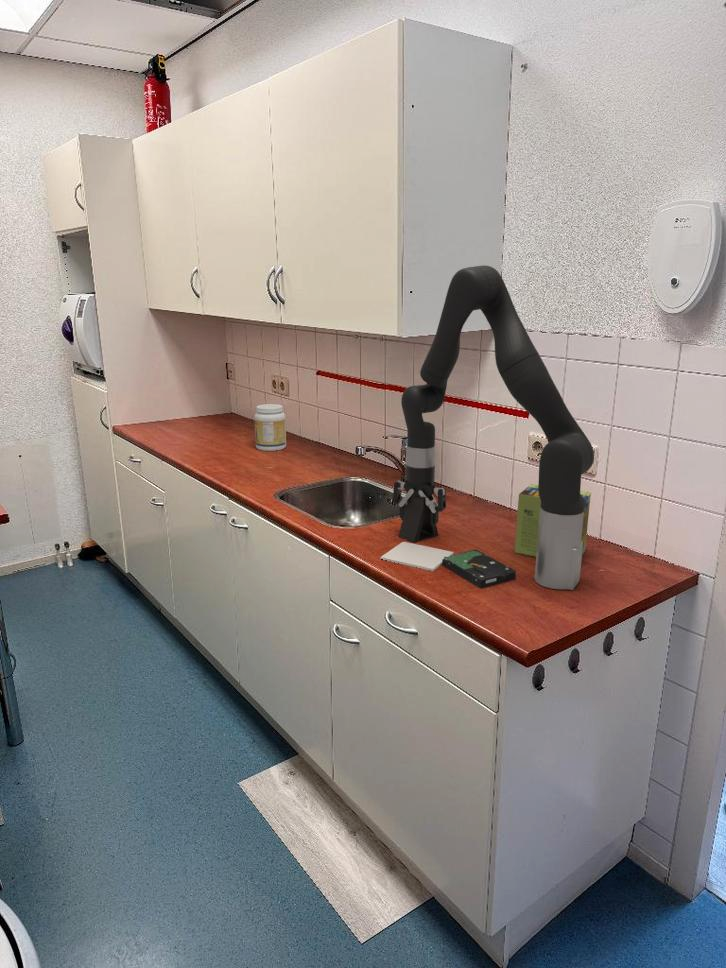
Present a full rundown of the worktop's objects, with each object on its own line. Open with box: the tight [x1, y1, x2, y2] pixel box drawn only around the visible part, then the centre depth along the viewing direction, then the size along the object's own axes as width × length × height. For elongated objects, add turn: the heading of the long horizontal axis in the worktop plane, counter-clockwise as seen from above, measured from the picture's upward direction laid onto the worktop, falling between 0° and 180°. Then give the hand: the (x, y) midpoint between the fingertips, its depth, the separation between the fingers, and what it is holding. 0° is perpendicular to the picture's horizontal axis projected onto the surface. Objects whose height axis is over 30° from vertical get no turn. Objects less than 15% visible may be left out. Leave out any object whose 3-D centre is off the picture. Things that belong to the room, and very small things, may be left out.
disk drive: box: [441, 549, 517, 589], centre depth 160 cm, size 10×3×15 cm
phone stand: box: [397, 495, 440, 544], centre depth 181 cm, size 9×6×12 cm, turn 129°
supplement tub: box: [254, 403, 287, 452], centre depth 274 cm, size 12×12×17 cm
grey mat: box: [380, 541, 455, 572], centre depth 168 cm, size 14×12×1 cm
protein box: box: [513, 483, 592, 558], centre depth 170 cm, size 10×15×16 cm
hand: (418, 522), depth 181 cm, fingers open, 8 cm apart
